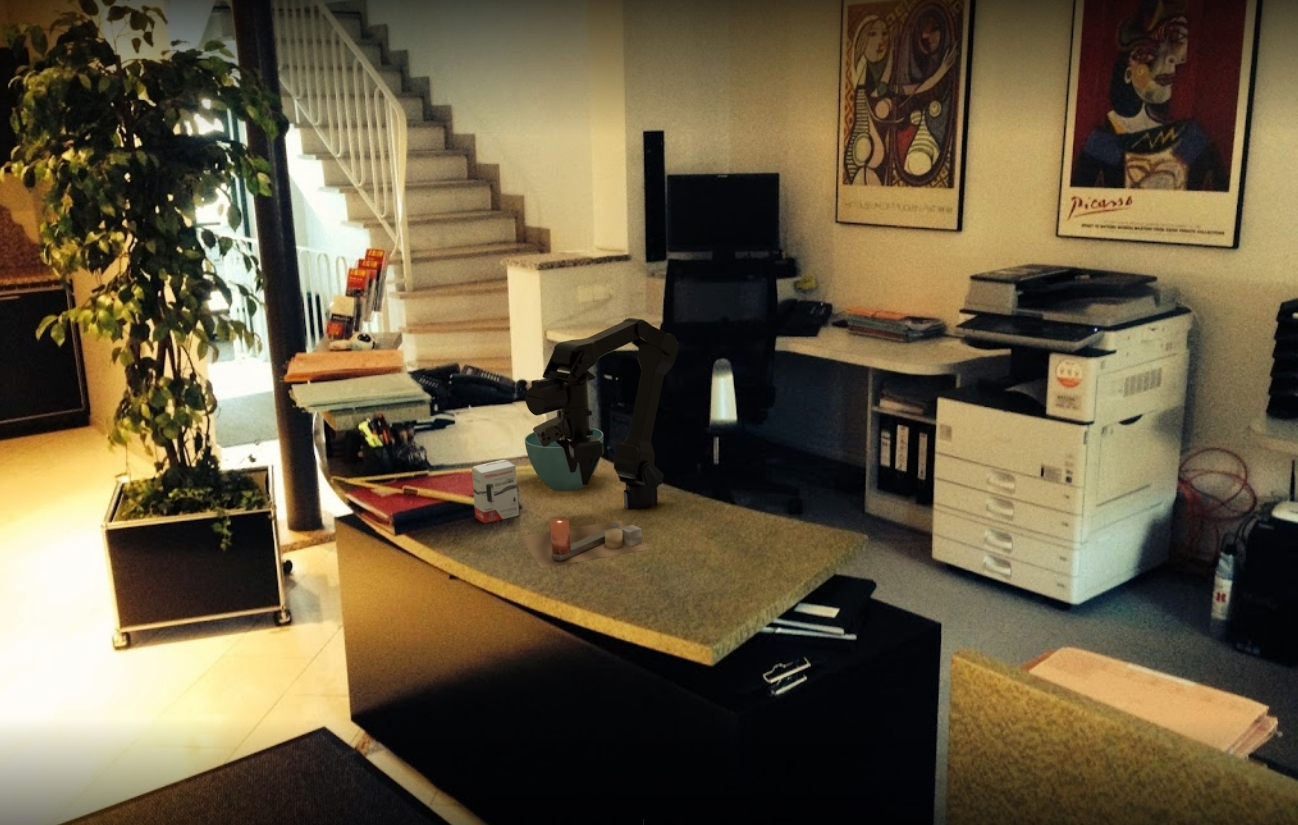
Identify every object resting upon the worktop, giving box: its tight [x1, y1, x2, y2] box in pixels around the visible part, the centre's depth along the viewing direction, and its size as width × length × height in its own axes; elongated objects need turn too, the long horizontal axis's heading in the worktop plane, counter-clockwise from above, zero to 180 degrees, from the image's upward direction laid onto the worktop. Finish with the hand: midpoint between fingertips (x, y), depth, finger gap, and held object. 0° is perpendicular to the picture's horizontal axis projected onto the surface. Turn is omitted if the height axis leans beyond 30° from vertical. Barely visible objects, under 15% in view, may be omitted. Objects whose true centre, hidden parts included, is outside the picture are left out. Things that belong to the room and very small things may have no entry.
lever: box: [549, 515, 606, 561], centre depth 218 cm, size 15×4×8 cm, turn 138°
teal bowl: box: [524, 427, 604, 493], centre depth 259 cm, size 18×18×12 cm
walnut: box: [605, 528, 623, 549], centre depth 219 cm, size 4×4×3 cm
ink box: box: [471, 459, 520, 524], centre depth 241 cm, size 8×5×12 cm, turn 123°
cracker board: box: [519, 519, 651, 569], centre depth 222 cm, size 22×18×4 cm
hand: (578, 478), depth 227 cm, fingers open, 9 cm apart
